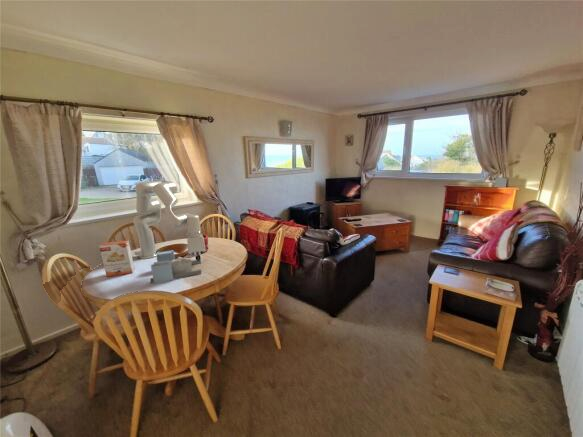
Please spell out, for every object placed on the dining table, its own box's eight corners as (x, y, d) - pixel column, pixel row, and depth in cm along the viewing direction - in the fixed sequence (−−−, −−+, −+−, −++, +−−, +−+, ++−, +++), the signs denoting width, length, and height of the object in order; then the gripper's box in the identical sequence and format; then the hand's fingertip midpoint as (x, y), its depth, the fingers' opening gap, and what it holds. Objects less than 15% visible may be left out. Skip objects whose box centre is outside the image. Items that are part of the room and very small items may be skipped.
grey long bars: (150, 283, 137) (150, 279, 136) (155, 270, 153) (154, 266, 152) (201, 273, 147) (201, 270, 146) (200, 262, 163) (200, 259, 162)
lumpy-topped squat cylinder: (170, 270, 152) (168, 258, 150) (192, 266, 157) (190, 254, 155) (169, 277, 143) (167, 264, 141) (192, 273, 148) (190, 260, 146)
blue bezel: (154, 283, 136) (150, 265, 133) (159, 268, 155) (156, 252, 152) (173, 280, 140) (170, 262, 137) (175, 265, 158) (173, 250, 155)
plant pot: (197, 247, 189) (195, 233, 186) (212, 248, 187) (210, 234, 183) (187, 254, 177) (185, 239, 174) (203, 255, 174) (201, 240, 171)
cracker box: (106, 277, 144) (98, 246, 139) (110, 273, 150) (102, 242, 145) (132, 273, 149) (125, 242, 144) (135, 269, 154) (128, 239, 149)
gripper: (181, 237, 142) (185, 264, 147) (207, 234, 148) (210, 260, 152) (182, 233, 149) (186, 260, 154) (207, 230, 154) (210, 256, 159)
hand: (198, 260), depth 153 cm, fingers closed
